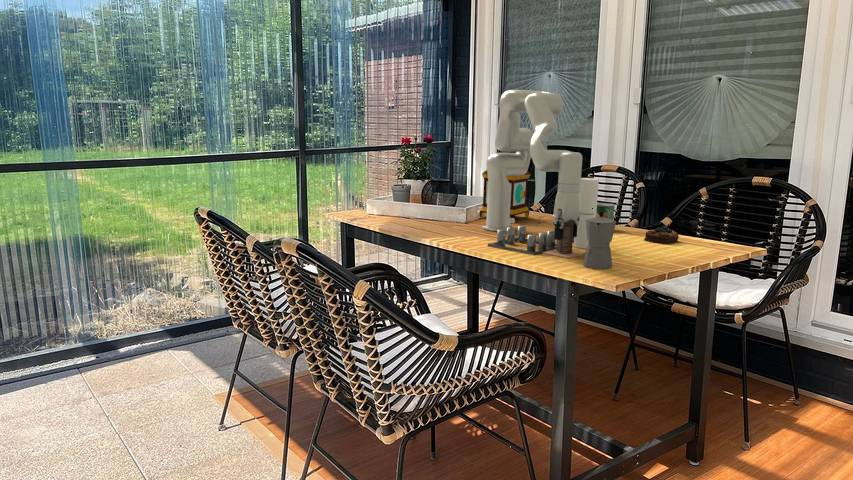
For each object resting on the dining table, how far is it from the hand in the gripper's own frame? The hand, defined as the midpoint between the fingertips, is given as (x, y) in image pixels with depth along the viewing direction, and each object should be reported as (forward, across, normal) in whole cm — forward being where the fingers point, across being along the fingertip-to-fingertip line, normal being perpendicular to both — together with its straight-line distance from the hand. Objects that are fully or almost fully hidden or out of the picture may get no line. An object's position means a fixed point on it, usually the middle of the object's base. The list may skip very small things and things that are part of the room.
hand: (565, 237), depth 228 cm
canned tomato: (+6, -57, -15) cm, 59 cm away
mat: (+6, 0, 0) cm, 6 cm away
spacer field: (+6, 0, -16) cm, 17 cm away
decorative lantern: (+6, -49, -61) cm, 78 cm away
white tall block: (+6, -17, -2) cm, 18 cm away
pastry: (+6, -51, +13) cm, 53 cm away
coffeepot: (+6, +8, +17) cm, 20 cm away
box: (+5, 0, 0) cm, 5 cm away
